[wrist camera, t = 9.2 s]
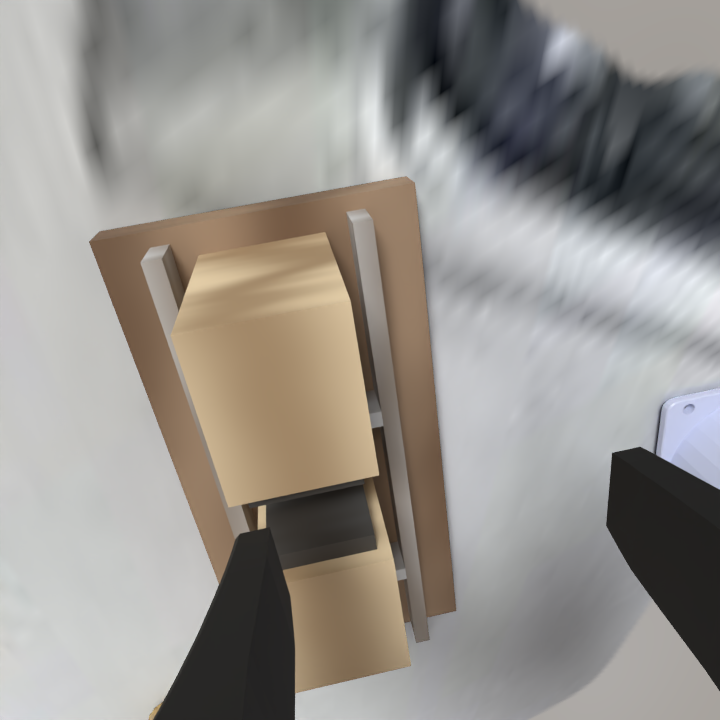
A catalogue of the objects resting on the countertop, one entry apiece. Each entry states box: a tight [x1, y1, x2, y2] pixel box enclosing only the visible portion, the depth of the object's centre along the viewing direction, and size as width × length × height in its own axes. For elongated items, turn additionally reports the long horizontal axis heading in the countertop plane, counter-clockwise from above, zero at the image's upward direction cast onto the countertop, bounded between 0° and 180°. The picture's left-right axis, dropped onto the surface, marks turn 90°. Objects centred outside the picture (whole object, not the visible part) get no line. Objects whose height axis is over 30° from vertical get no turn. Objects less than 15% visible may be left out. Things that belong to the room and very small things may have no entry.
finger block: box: [258, 477, 411, 693], centre depth 20 cm, size 4×6×6 cm
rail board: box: [89, 176, 456, 643], centre depth 20 cm, size 10×20×7 cm, turn 8°
